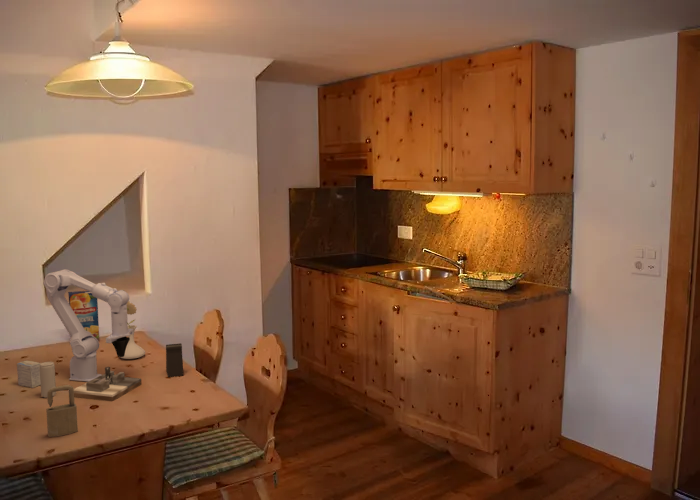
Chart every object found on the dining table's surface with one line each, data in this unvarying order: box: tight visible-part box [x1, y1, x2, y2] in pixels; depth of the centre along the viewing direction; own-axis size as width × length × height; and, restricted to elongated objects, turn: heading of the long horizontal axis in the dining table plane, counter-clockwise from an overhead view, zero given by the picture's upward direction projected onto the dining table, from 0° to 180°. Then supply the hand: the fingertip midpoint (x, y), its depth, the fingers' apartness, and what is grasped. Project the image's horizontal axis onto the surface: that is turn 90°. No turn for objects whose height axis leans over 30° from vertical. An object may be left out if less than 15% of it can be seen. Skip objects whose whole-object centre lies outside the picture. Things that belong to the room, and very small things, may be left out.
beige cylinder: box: [40, 361, 57, 399], centre depth 218 cm, size 5×5×12 cm
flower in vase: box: [119, 300, 146, 360], centre depth 264 cm, size 13×11×25 cm
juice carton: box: [67, 290, 100, 342], centre depth 289 cm, size 12×8×24 cm, turn 120°
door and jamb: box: [73, 370, 142, 402], centre depth 224 cm, size 18×17×5 cm
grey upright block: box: [16, 360, 42, 389], centre depth 229 cm, size 8×4×9 cm, turn 65°
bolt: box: [95, 366, 112, 384], centre depth 221 cm, size 8×2×6 cm, turn 166°
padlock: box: [46, 384, 79, 438], centre depth 186 cm, size 4×8×15 cm, turn 123°
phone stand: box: [165, 343, 184, 378], centre depth 243 cm, size 9×6×12 cm, turn 21°
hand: (120, 356), depth 235 cm, fingers closed
